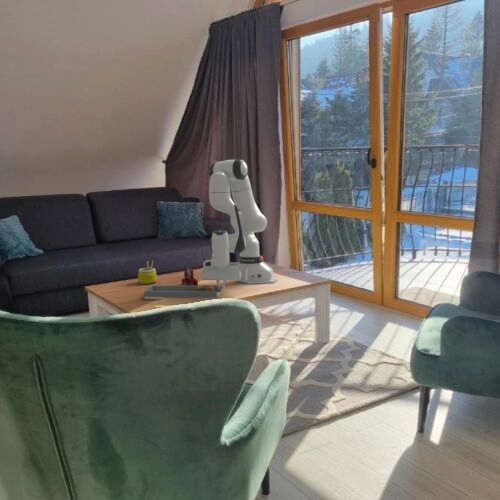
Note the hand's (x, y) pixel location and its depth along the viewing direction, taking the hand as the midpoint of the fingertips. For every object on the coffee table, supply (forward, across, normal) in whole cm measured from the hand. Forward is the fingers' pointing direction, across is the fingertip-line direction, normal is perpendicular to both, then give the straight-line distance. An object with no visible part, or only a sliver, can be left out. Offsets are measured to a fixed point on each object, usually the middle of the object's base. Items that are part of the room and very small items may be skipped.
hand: (221, 288), depth 293 cm
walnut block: (+3, +8, 0) cm, 9 cm away
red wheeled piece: (+4, +23, -21) cm, 31 cm away
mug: (+4, +49, -28) cm, 57 cm away
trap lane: (+4, +20, 0) cm, 21 cm away
